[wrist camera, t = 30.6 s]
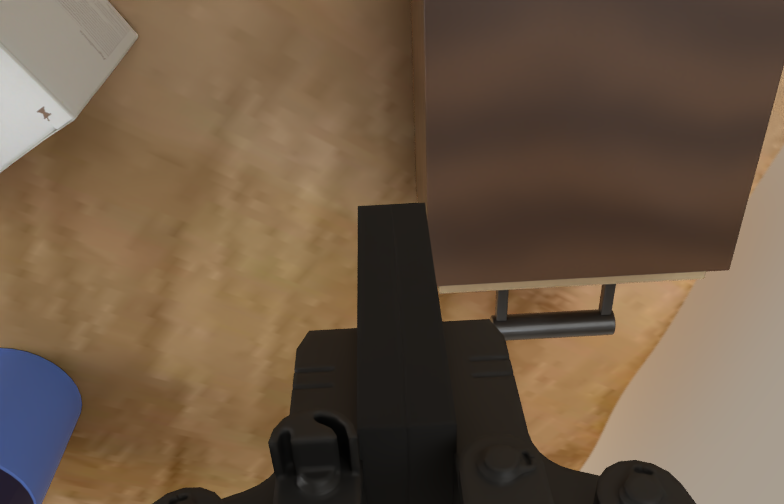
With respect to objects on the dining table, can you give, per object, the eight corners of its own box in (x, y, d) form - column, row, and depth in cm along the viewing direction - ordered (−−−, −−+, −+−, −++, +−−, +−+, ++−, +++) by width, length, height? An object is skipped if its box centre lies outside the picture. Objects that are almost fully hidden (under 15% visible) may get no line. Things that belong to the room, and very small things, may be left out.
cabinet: (661, 175, 44) (729, 270, 36) (415, 189, 44) (428, 287, 36) (715, -116, 35) (822, -77, 27) (408, -100, 35) (422, -56, 27)
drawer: (639, 278, 47) (684, 363, 41) (428, 290, 47) (439, 376, 40) (701, -58, 36) (777, -16, 29) (422, -43, 36) (436, 2, 29)
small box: (61, -59, 35) (-37, 1, 27) (143, 36, 38) (79, 118, 29) (-49, 33, 38) (-172, 116, 29) (36, 116, 40) (-53, 215, 32)
